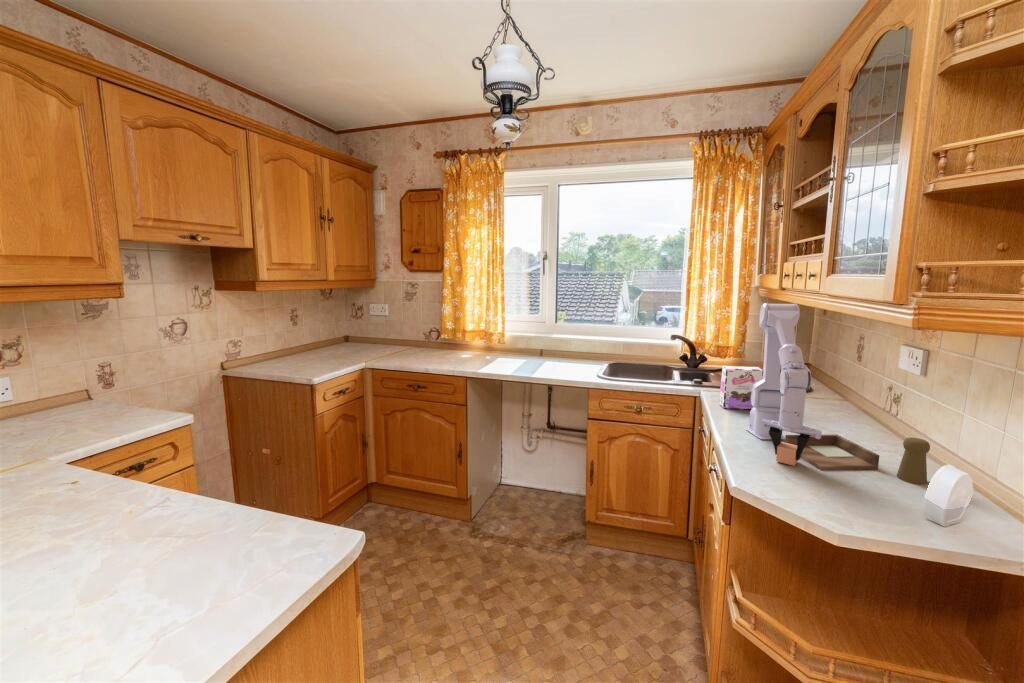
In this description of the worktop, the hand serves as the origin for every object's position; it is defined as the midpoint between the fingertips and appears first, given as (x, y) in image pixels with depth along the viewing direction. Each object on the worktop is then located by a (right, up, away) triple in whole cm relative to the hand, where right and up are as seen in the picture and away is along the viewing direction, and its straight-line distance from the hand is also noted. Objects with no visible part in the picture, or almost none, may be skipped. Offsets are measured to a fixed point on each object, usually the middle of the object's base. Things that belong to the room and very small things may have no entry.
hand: (787, 456), depth 128 cm
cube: (0, -1, 0) cm, 1 cm away
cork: (+26, -4, -10) cm, 28 cm away
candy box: (+12, +6, +52) cm, 54 cm away
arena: (+14, -1, +3) cm, 14 cm away
